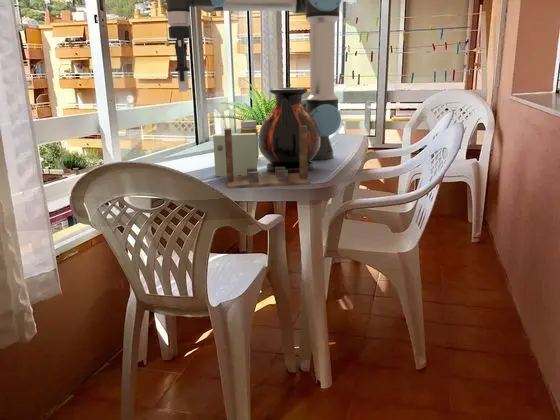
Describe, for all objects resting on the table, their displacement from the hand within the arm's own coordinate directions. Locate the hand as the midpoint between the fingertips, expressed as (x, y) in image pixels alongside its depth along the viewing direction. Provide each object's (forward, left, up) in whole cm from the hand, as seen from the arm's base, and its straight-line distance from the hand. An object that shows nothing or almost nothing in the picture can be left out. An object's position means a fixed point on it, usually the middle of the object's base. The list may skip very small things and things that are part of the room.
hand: (184, 90), depth 173 cm
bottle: (-23, -14, -28) cm, 39 cm away
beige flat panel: (-16, +17, -28) cm, 36 cm away
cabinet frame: (-25, +31, -28) cm, 48 cm away
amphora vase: (-35, +11, -28) cm, 46 cm away
